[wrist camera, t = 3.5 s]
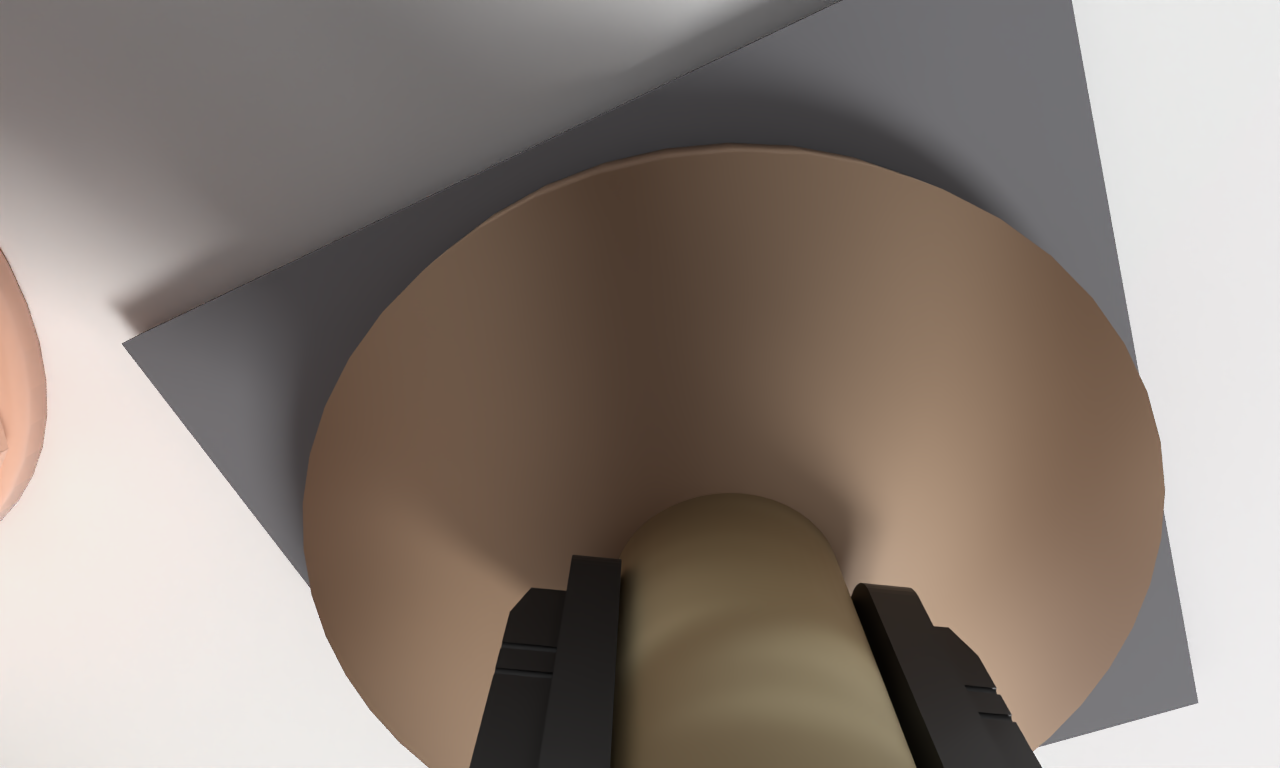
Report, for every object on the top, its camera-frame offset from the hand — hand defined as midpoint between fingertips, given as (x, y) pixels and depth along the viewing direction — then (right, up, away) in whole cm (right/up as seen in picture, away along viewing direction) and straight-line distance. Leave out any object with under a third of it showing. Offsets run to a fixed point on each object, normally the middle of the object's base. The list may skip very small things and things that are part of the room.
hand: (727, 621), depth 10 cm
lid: (0, +1, +2) cm, 2 cm away
